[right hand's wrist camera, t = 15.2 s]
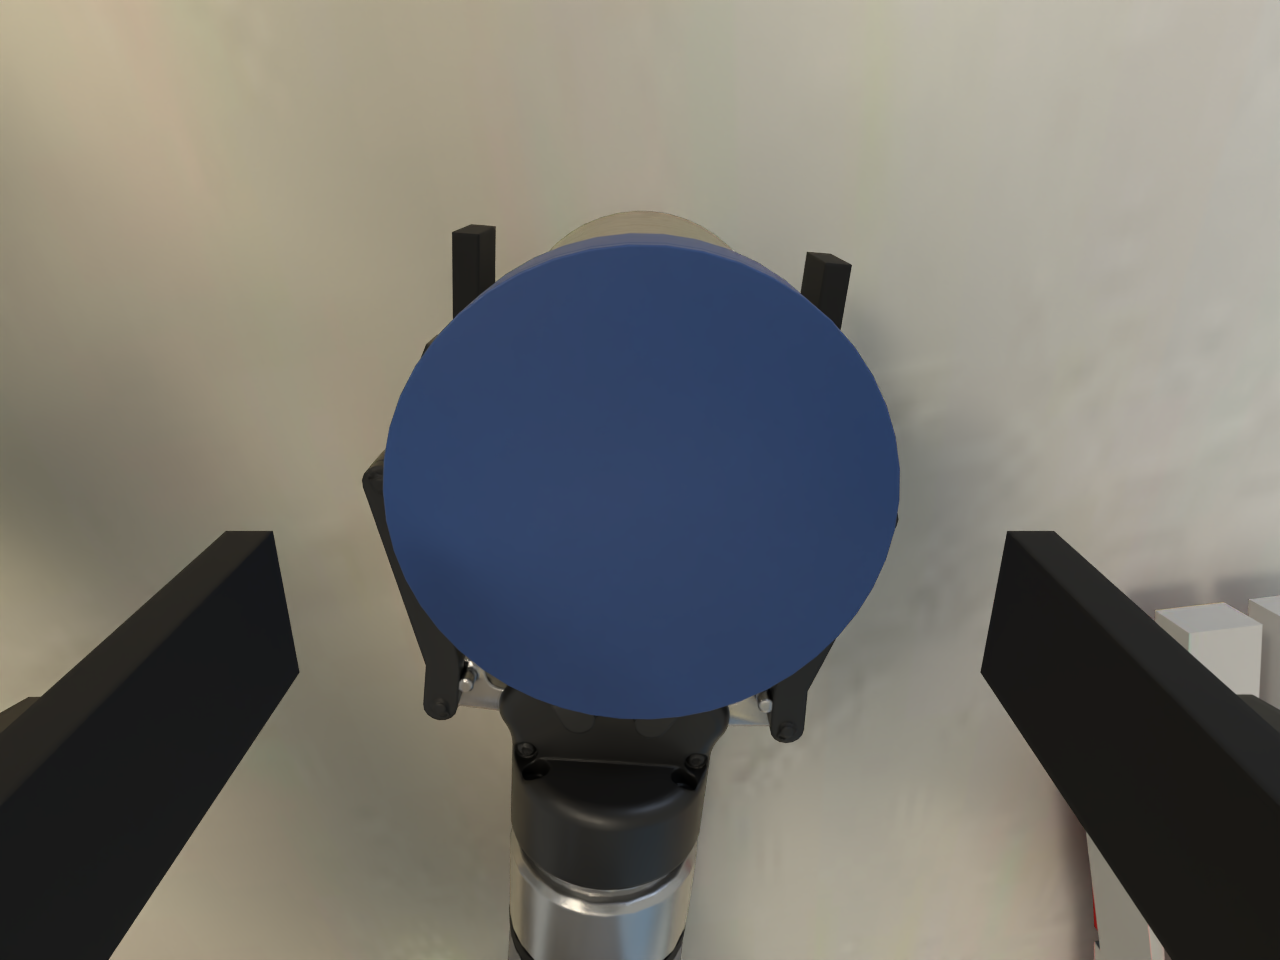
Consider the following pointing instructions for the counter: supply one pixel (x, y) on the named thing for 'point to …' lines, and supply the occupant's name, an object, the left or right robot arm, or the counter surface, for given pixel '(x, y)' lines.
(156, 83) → the counter surface
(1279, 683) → the toy
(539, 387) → the lid
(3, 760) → the right robot arm
